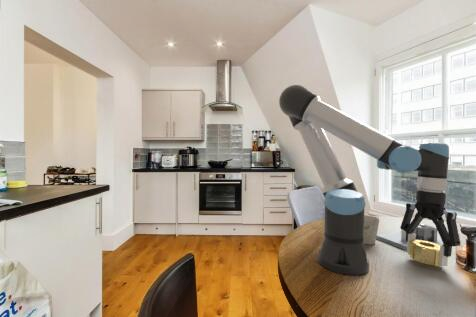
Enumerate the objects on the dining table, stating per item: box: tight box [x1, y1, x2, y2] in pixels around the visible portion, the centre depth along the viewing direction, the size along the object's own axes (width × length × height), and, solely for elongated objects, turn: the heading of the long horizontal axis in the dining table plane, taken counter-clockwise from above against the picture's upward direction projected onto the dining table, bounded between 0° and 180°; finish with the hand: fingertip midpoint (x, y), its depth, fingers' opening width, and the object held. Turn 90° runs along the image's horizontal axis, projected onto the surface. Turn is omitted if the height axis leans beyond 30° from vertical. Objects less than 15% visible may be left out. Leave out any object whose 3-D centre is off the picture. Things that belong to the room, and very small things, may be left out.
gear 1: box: [414, 223, 438, 242], centre depth 99 cm, size 9×9×6 cm
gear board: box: [376, 228, 443, 251], centre depth 98 cm, size 20×16×7 cm
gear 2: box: [407, 240, 440, 267], centre depth 78 cm, size 9×9×5 cm
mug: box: [363, 214, 380, 246], centre depth 98 cm, size 8×13×10 cm, turn 78°
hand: (425, 258), depth 78 cm, fingers closed on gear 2, 9 cm apart
